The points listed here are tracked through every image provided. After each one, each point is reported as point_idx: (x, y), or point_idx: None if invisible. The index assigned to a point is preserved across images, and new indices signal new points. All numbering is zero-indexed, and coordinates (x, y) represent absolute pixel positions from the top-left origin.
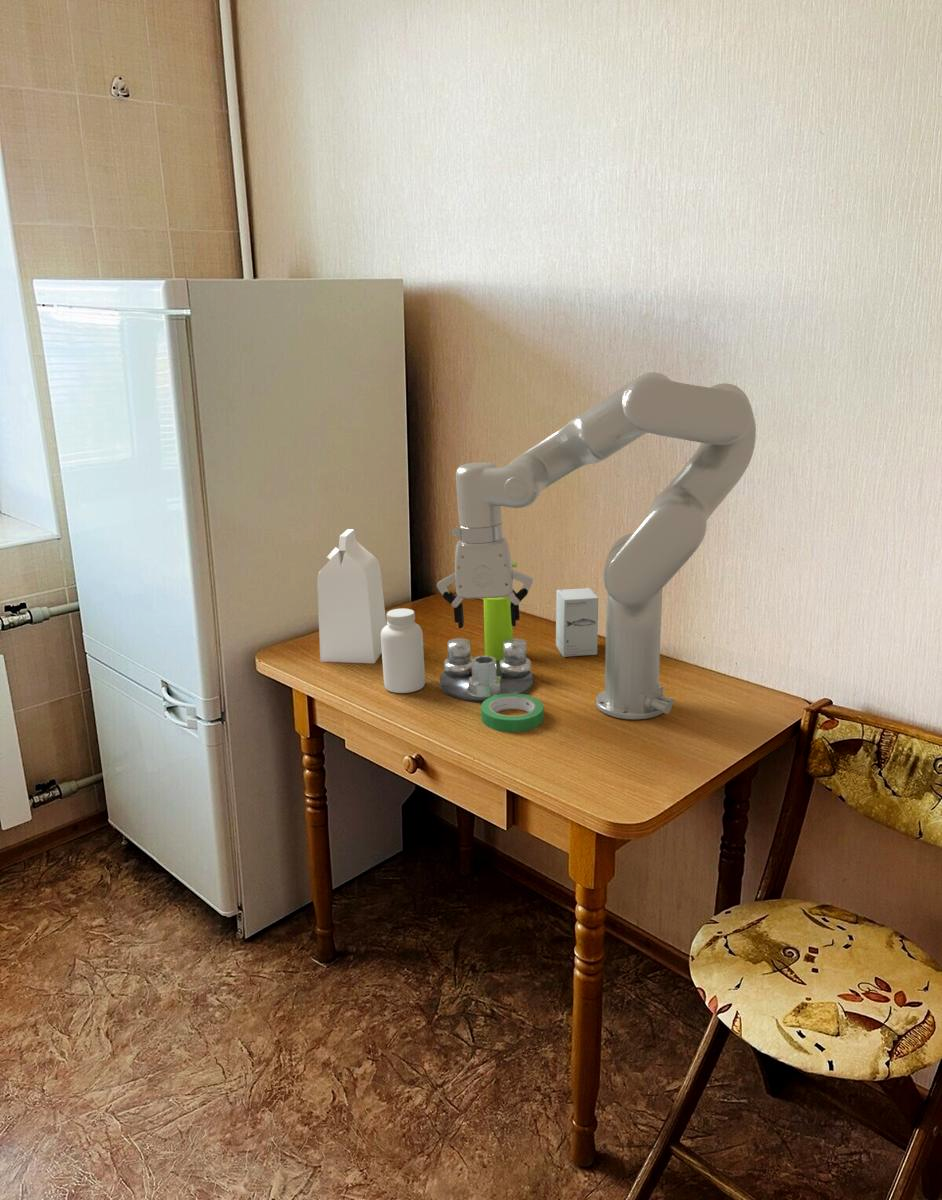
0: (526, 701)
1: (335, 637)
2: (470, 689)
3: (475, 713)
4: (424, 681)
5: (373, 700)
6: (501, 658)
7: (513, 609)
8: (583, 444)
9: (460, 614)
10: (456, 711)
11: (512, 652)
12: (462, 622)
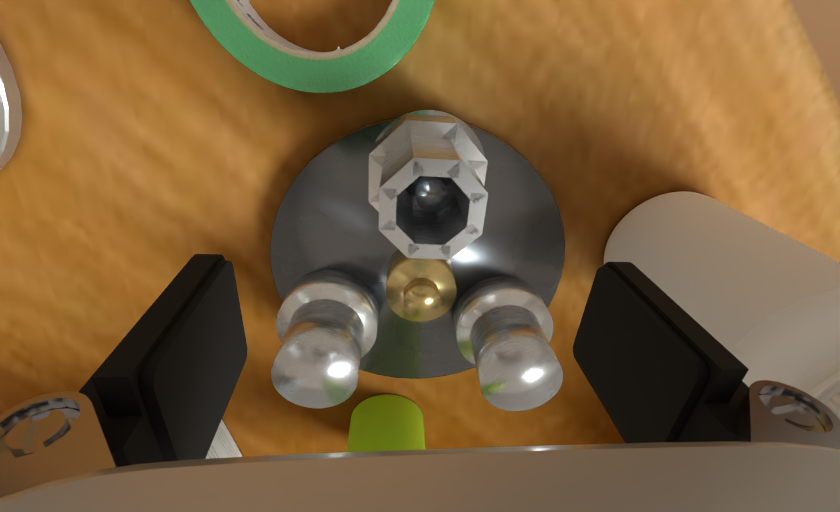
0: (258, 27)
1: None
2: (476, 146)
3: (458, 14)
4: (612, 245)
5: (781, 145)
6: (379, 398)
7: (132, 345)
8: None
9: (670, 326)
10: (525, 37)
11: (324, 329)
12: (610, 299)
